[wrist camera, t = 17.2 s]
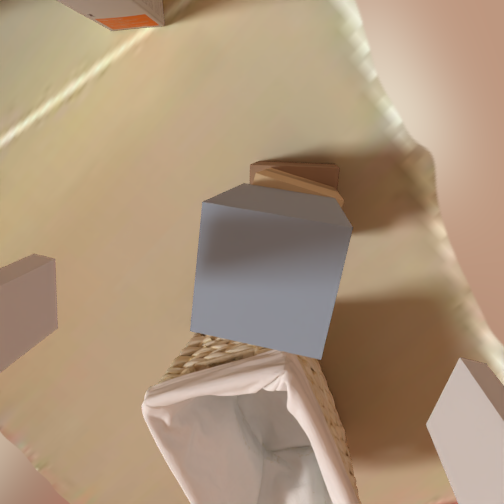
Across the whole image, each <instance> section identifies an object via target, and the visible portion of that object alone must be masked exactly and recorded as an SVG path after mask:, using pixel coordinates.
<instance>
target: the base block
mask: <svg viewBox="0 0 504 504" xmlns="http://www.w3.org/2000/svg"><path fill="white" fill-rule="evenodd" d="M268 168H274V169H277V170H280V171H283V172H286V173H290V174H293V175H296V176H299V177H302V178H306V179H309V180H312V181H315V182H318V183H322V184H325V185H328V186H331V187H334V188H335V189H336V191H337V186H338V177H339V167H338V166H336V165H335V164H323V163H297V162H270V161H258V162H256V163H253V164H251V165H250V184H251V185H252V184H253V181H254V177H255V174H256V173H257V172H260V171H262V170H265V169H268Z"/></svg>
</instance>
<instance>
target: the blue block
mask: <svg viewBox="0 0 504 504" xmlns="http://www.w3.org/2000/svg"><path fill="white" fill-rule="evenodd" d="M352 229H353V227H352V225H351V224H350V222H349V220H348V219H347V217H346V215H345V214H344V212H343V210H342V209H341V207H340V205H339V204H338V202H337V200H336V199H335V198H331V197H325V196H319V195H313V194H307V193H301V192H294V191H288V190H282V189H276V188H270V187H263V186H257V185H251V184H245V183H244V184H241V185H239V186H237V187H235V188H232V189H230V190H228V191H226V192H223V193H221V194H219V195H217V196H215V197H212V198H210V199H208V200H206V201H203V202H202V213H201V223H200V233H199V244H198V254H197V265H196V275H195V286H194V296H193V307H192V317H191V328H190V331H192V332H196V333H201V334H205V335H210V336H215V337H219V338H224V339H228V340H233V341H237V342H242V343H247V344H251V345H256V346H260V347H265V348H269V349H274V350H278V351H283V352H288V353H292V354H297V355H301V356H306V357H310V358H315V359H320V360H321V358H322V354H323V350H324V346H325V341H326V337H327V333H328V329H329V325H330V321H331V317H332V312H333V308H334V304H335V300H336V296H337V292H338V287H339V283H340V279H341V275H342V271H343V267H344V263H345V258H346V254H347V250H348V246H349V242H350V238H351V234H352Z"/></svg>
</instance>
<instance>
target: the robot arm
mask: <svg viewBox="0 0 504 504" xmlns="http://www.w3.org/2000/svg"><path fill="white" fill-rule="evenodd" d="M57 328H58V322H57V295H56V268H55V259H54V258H49V257H45V256H41V255H37V254H32V255H30V256H28V257H25V258H23V259H21V260H19V261H16V262H14V263H12V264H9V265H7V266H5V267H2V268H0V373H1V372H2V371H3V370H4V369H6V368H7V367H8V366H10V365H11V364H12V363H13V362H15V361H16V360H17V359H19V358H20V357H21V356H22V355H24V354H25V353H26V352H28V351H29V350H30V349H31V348H33V347H34V346H35V345H37V344H38V343H39V342H41V341H42V340H43V339H44V338H46V337H47V336H48V335H50V334H51V333H52V332H53V331H55V330H56V329H57ZM426 426H427V428H428V431H429V433H430V436H431V438H432V441H433V443H434V445H435V448H436V450H437V453H438V455H439V458H440V460H441V463H442V465H443V467H444V470H445V472H446V475H447V477H448V480H449V482H450V485H451V487H452V489H453V492H454V494H455V497H456V499H457V502H458V504H504V386H503V384H502V383H501V382H500V381H499V379H498V378H497V377H496V375H495V374H494V373H493V372H492V370H491V369H490V368H489V367H488V365H487V364H486V363H482V362H478V361H473V360H469V359H465V358H461V357H460V358H459V360H458V362H457V364H456V366H455V368H454V370H453V372H452V374H451V376H450V378H449V380H448V382H447V384H446V386H445V388H444V390H443V392H442V394H441V396H440V398H439V400H438V402H437V404H436V406H435V408H434V410H433V412H432V413H431V415H430V417H429V419H428V421H427V423H426Z"/></svg>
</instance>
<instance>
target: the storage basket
mask: <svg viewBox="0 0 504 504" xmlns="http://www.w3.org/2000/svg"><path fill="white" fill-rule="evenodd" d="M203 335H204V336H203ZM142 413H143V416H144V419H145V421H146V423H147V425H148V428H149V430H150V432H151V434H152V436H153V438H154V440H155V442H156V444H157V446H158V448H159V449H160V451H161V453H162V455H163V457H164V459H165V461H166V462H167V464H168V466H169V468H170V469H171V471H172V473H173V474H174V476H175V478H176V479H177V481H178V482H179V484H180V486H181V488H182V489H183V491H184V493H185V495H186V496H187V498H188V500H189V501H190V503H191V504H361V501H360V499H359V496H358V489H357V486H356V479H355V477H354V472H353V467H352V461H351V458H350V452H349V449H348V448H349V447H348V446H347V439H346V437H345V430H344V428H343V426H342V423H341V421H340V419H339V415H338V412H337V410H336V408H335V403H334V399H333V396H332V394H331V392H330V390H329V389H328V385H327V381H326V379H325V376H324V374H323V372H322V371H321V367H320V364H319V362H318V360H317V359H315V358H310V357H306V356H301V355H297V354H292V353H288V352H283V351H278V350H274V349H269V348H265V347H260V346H256V345H251V344H247V343H242V342H237V341H233V340H228V339H224V338H219V337H215V336H210V335H205V334H201V333H197V334H195V335H194V336H193V337H192V338H191V340H190V341H189V342H188V343H187V345H186V347H185V348H184V349H182V350H181V352H180V354H179V356H178V357H177V358H175V359H174V360H173V362H172V363H171V366H170V368H169V369H168V370H167V371H166V374H165V375H164V376H163V377H162V379H161V381H160V382H159V383H158V384H157V385H154V386H151V387H149V388H148V390H147V391H146V393H145V400H144V402H143V403H142Z"/></svg>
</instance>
